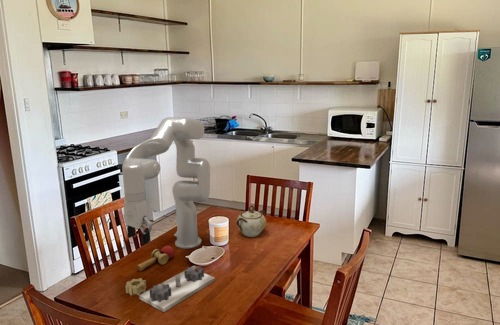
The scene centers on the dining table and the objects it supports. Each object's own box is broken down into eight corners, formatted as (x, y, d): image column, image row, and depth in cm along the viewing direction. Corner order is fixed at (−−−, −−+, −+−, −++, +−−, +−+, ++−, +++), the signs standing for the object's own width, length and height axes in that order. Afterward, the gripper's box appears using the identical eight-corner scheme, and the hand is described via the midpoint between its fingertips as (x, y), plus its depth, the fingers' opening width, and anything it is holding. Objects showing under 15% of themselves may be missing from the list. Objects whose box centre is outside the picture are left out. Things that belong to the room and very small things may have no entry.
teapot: (254, 224, 215) (254, 198, 212) (275, 231, 205) (275, 204, 201) (227, 235, 202) (226, 207, 198) (248, 244, 191) (247, 214, 188)
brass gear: (122, 291, 153) (121, 284, 152) (138, 283, 159) (137, 276, 158) (134, 297, 148) (133, 290, 148) (150, 289, 154) (149, 282, 153)
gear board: (139, 298, 148) (137, 283, 146) (190, 270, 167) (189, 256, 166) (163, 312, 139) (162, 295, 138) (215, 280, 159) (214, 266, 157)
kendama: (146, 277, 166) (179, 256, 178) (141, 263, 164) (175, 243, 177) (136, 274, 171) (169, 254, 184) (132, 261, 170) (165, 241, 182)
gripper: (113, 194, 150) (117, 237, 153) (139, 203, 138) (143, 248, 142) (131, 190, 155) (134, 231, 159) (157, 198, 144) (160, 242, 147)
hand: (138, 239), depth 150 cm, fingers open, 9 cm apart
